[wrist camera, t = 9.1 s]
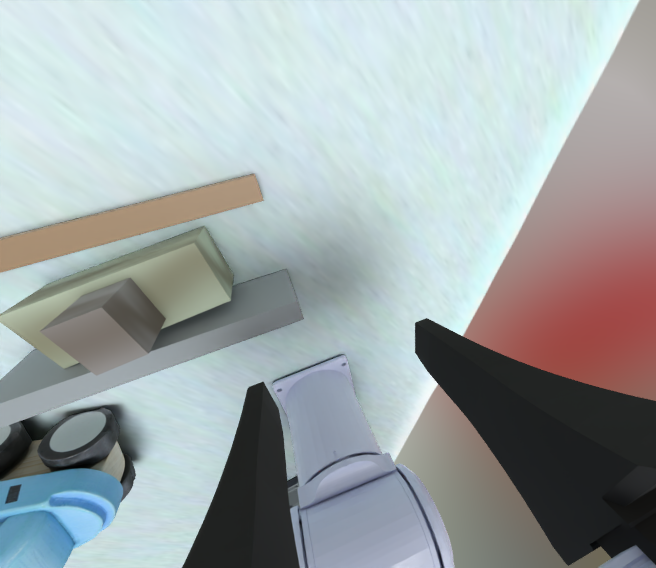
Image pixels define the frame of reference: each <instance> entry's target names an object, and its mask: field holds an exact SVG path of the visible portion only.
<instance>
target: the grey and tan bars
mask: <svg viewBox="0 0 656 568" xmlns="http://www.w3.org/2000/svg"><path fill="white" fill-rule="evenodd" d="M260 201H264V200H263V197H262V194H261V191H260V188H259V185H258V182H257V179H256V176H255V174H250V175H247V176H243V177H239V178H235V179H231V180H227V181H223V182H219V183H215V184H211V185H207V186H203V187H199V188H195V189H191V190H187V191H184V192H180V193H176V194H172V195H168V196H164V197H160V198H156V199H152V200H148V201H144V202H140V203H136V204H132V205H128V206H124V207H121V208H117V209H113V210H109V211H105V212H101V213H97V214H93V215H89V216H85V217H81V218H77V219H73V220H69V221H65V222H61V223H58V224H54V225H50V226H46V227H42V228H38V229H34V230H30V231H26V232H22V233H18V234H14V235H10V236H6V237H2V238H0V272H4V271H8V270H11V269H15V268H19V267H22V266H26V265H30V264H33V263H37V262H41V261H44V260H48V259H52V258H55V257H59V256H63V255H66V254H70V253H74V252H77V251H81V250H85V249H88V248H92V247H96V246H99V245H103V244H107V243H110V242H114V241H118V240H121V239H125V238H129V237H132V236H136V235H140V234H143V233H147V232H151V231H154V230H158V229H162V228H165V227H169V226H173V225H176V224H180V223H184V222H187V221H191V220H195V219H198V218H202V217H206V216H209V215H213V214H217V213H220V212H224V211H228V210H231V209H235V208H238V207H242V206H246V205H249V204H253V203H257V202H260ZM303 319H304V318H303V315H302V312H301V309H300V306H299V303H298V300H297V297H296V294H295V292H294V289H293V286H292V283H291V280H290V278H289V275H288V272H287V269H285V270H281V271H278V272H275V273H272V274H269V275H266V276H263V277H260V278H257V279H254V280H250V281H247V282H244V283H241V284H238V285H235V286H232V294H231V301H229V302H226V303H224V304H221V305H219V306H216V307H214V308H212V309H209V310H207V311H204V312H202V313H199V314H197V315H194V316H192V317H190V318H187V319H185V320H182V321H180V322H177V323H175V324H173V325H170V326H168V327H165V328H163V329H161V330H160V332H159V334H158V336H157V338H156V340H155V342H154V344H153V346H152V348H151V350H150V352H149V354H147V355H145V356H143V357H140V358H138V359H136V360H133V361H131V362H128V363H126V364H124V365H121V366H119V367H116V368H114V369H112V370H109V371H107V372H105V373H102V374H100V375H97V376H96V375H95V374H93V373H92V372H91V371H89V370H88V369H87V368H86V367H84V366H83V365H82V364H80V363H77V364H75V365H73V366H70V367H68V368H65V369H63V368H62V367H61V366H59V365H58V364H57V363H55V362H54V361H53V360H51V359H50V358H49V357H47V356H46V355H44V354H43V353H42V352H40V351H39V350H38V349H36V350H33V351H32V352H31V353H30V354H28V355H27V356H26V357H25V358H24V359H23V360H22V361H21V362H20V363H19V364H17V365H16V366H15V367H14V368H13V369H12V370H11V371H10V372H9V373H8V374H6V375H5V376H4V377H3V378H2V379H1V380H0V428H2V427H5V426H8V425H11V424H13V423H16V422H19V421H22V420H24V419H27V418H30V417H33V416H36V415H38V414H41V413H44V412H47V411H50V410H52V409H55V408H58V407H61V406H63V405H66V404H69V403H72V402H75V401H77V400H80V399H83V398H86V397H89V396H91V395H94V394H97V393H100V392H102V391H105V390H108V389H111V388H114V387H116V386H119V385H122V384H125V383H127V382H130V381H133V380H136V379H139V378H141V377H144V376H147V375H150V374H153V373H155V372H158V371H161V370H164V369H166V368H169V367H172V366H175V365H178V364H180V363H183V362H186V361H189V360H192V359H194V358H197V357H200V356H203V355H205V354H208V353H211V352H214V351H217V350H219V349H222V348H225V347H228V346H230V345H233V344H236V343H239V342H242V341H244V340H247V339H250V338H253V337H256V336H258V335H261V334H264V333H267V332H269V331H272V330H275V329H278V328H281V327H283V326H286V325H289V324H292V323H295V322H297V321H300V320H303Z"/></svg>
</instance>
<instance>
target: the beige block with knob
mask: <svg viewBox="0 0 656 568" xmlns="http://www.w3.org/2000/svg"><path fill="white" fill-rule="evenodd" d="M232 285H233V273H232V272H231V270H230V268H229V266H228V265H227V263H226V261H225V260H224V258H223V256H222V255H221V253H220V251H219V249H218V248H217V246H216V244H215V243H214V241H213V239H212V237H211V236H210V234H209V232H208V231H207V229H206V227H205V226H203V227H200V228H197V229H194V230H192V231H189V232H186V233H184V234H181V235H178V236H176V237H173V238H170V239H167V240H165V241H162V242H159V243H157V244H154V245H151V246H149V247H146V248H143V249H140V250H138V251H135V252H132V253H130V254H127V255H124V256H122V257H119V258H116V259H113V260H111V261H108V262H105V263H103V264H100V265H97V266H95V267H92V268H89V269H86V270H84V271H81V272H78V273H76V274H73V275H70V276H68V277H65V278H62V279H59V280H57V281H54V282H51V283H49V284H47V285H46V286H44V287H42V288H41V289H39V290H38V291H36V292H35V293H33V294H31V295H30V296H28V297H27V298H25V299H24V300H22V301H21V302H19V303H17V304H16V305H14V306H13V307H11V308H10V309H8V310H6V311H5V312H3V313H2V314H0V322H1V323H2V324H4V325H5V326H6V327H8V328H9V329H10V330H12V331H13V332H14V333H16V334H17V335H19V336H20V337H21V338H23V339H24V340H25V341H27V342H28V343H29V344H31V345H32V346H34V347H35V348H36V349H38V350H39V351H40V352H42V353H43V354H44V355H46V356H47V357H49V358H50V359H51V360H53V361H54V362H55V363H57V364H58V365H59V366H61V367H62V368H63V369H65V368H68V367H70V366H73V365H75V364H77V363H80V364H82V365H83V366H84V367H86V368H87V369H88V370H89V371H91V372H92V373H93V374H95V375H96V376H97V375H100V374H102V373H105V372H107V371H109V370H112V369H114V368H116V367H119V366H121V365H124V364H126V363H128V362H131V361H133V360H136V359H138V358H140V357H143V356H145V355H147V354H149V352H150V350H151V348H152V346H153V344H154V342H155V340H156V338H157V336H158V334H159V332H160V330H161V329H163V328H165V327H168V326H170V325H173V324H175V323H177V322H180V321H182V320H185V319H187V318H190V317H192V316H194V315H197V314H199V313H202V312H204V311H207V310H209V309H212V308H214V307H216V306H219V305H221V304H224V303H226V302H229V301H231V294H232Z"/></svg>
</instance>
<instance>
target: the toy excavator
mask: <svg viewBox="0 0 656 568" xmlns="http://www.w3.org/2000/svg"><path fill="white" fill-rule="evenodd" d="M119 431H120V428H119V426H118V424H117V422H116V420H115V417H114V415H113V413H112V412H111V411H110V410H108V409H105V408H104V407H102V408H100V409H98V410H95V411H89V412H84V413H79V414H73V415H71V416H69V417H67V418H66V419H64V420H62V421H60V422H59V423H58V424H56V425H55V426H54V427H53V428H52V429H51V430H49V432H48V433H47V434H46V435H45V436H44V437H43V439H42V440H36V441H32V439H31V437H30V436H29V435H28V433H27V431H26V429H25V428H24V426H23V424H22V423H21V421H19V422H16V423H13V424H11V425H8V426H5V427H2V428H0V568H63V567H64V565H65V563H66V561H67V559H68V557H69V556H70V554H71V552H72V549H74V548H77V547H79V546H81V545H82V544H84V543H86V542H88V541H90V540H91V539H93V538H94V537H95V536H97V535H98V533H99V532H101V531H102V530H104V529H105V528H107V527H108V526H109V525H110V524H111V522H112V521H113V519H114V518H115V515H116V513H117V510H118V507H119V504H120V502H121V501H122V500H123V499H124V498H125V497H126V495H127V494H128V493H129V492H130V490H131V488H132V486H133V481H134V480H135V476H136V474H135V469H134V466H133V463H132V459H131V458H130V457H129V455H127V454H123V453H122V451H121V449H120V446H119V444H118V442H117V439H118V436H119Z"/></svg>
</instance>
